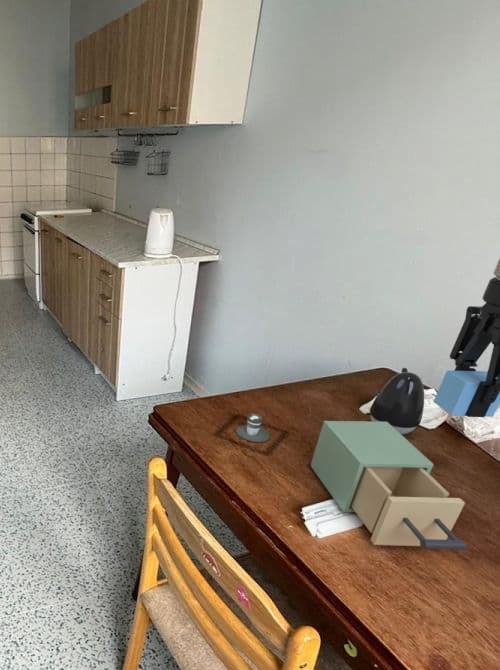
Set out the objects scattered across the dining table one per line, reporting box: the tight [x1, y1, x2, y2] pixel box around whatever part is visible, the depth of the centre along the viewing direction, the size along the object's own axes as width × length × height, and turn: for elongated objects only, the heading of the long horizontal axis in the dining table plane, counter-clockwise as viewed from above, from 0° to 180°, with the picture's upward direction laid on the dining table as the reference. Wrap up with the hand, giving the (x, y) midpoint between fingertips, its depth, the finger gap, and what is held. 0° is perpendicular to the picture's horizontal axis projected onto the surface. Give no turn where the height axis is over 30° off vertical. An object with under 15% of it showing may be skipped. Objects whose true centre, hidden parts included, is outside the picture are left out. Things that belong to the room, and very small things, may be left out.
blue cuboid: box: [433, 370, 500, 418], centre depth 84 cm, size 7×5×6 cm
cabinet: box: [310, 420, 435, 513], centre depth 93 cm, size 15×13×12 cm
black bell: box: [369, 367, 425, 436], centre depth 112 cm, size 10×10×15 cm
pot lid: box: [235, 412, 271, 443], centre depth 113 cm, size 12×12×5 cm
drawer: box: [350, 467, 468, 550], centre depth 82 cm, size 20×11×10 cm, turn 177°
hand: (463, 407), depth 85 cm, fingers closed on blue cuboid, 5 cm apart
